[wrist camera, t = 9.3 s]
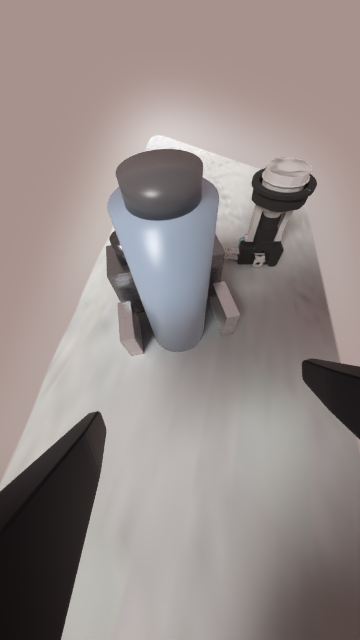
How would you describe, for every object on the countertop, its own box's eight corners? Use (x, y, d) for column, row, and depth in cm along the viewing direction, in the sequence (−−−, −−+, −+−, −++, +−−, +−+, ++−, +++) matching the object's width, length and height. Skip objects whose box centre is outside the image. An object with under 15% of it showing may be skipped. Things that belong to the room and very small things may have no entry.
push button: (224, 274, 24) (243, 184, 15) (222, 245, 26) (237, 155, 18) (280, 275, 23) (333, 181, 15) (272, 245, 26) (312, 152, 17)
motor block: (232, 333, 20) (255, 278, 13) (131, 356, 19) (96, 311, 12) (207, 270, 24) (213, 206, 17) (125, 287, 23) (97, 226, 17)
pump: (209, 345, 19) (242, 187, 7) (158, 357, 19) (95, 212, 6) (196, 303, 22) (202, 136, 9) (150, 313, 21) (96, 151, 9)
